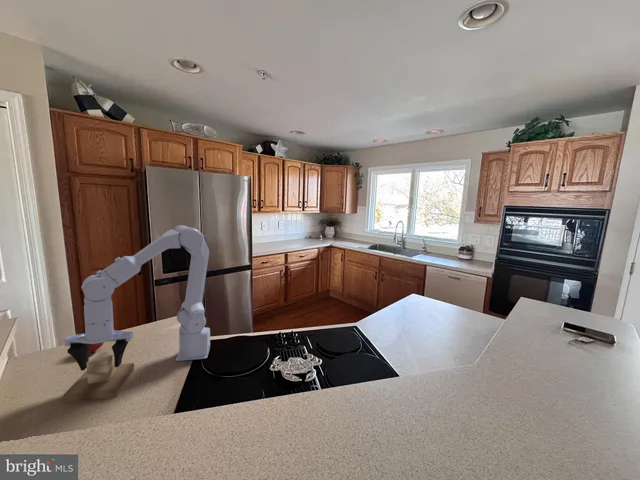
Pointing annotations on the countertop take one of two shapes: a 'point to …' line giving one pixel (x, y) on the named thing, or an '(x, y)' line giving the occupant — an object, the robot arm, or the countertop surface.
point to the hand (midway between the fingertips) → (101, 366)
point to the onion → (94, 347)
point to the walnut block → (99, 386)
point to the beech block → (100, 367)
